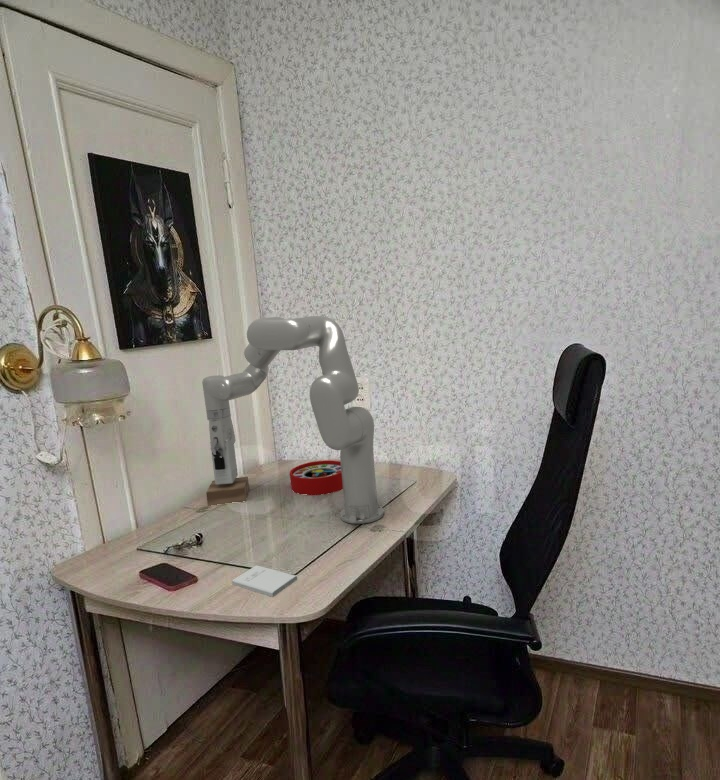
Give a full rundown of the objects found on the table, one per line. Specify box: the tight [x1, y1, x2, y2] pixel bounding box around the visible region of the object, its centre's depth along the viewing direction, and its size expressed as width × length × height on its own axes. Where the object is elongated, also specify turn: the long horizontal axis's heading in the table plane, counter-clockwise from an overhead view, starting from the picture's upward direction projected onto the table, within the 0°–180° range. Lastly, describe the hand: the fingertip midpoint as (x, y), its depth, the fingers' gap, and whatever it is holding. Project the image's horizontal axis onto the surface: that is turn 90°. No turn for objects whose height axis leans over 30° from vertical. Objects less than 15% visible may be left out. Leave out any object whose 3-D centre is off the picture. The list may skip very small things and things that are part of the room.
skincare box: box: [209, 439, 239, 484], centre depth 178 cm, size 8×6×15 cm
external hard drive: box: [231, 564, 298, 598], centre depth 122 cm, size 2×8×12 cm
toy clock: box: [289, 459, 343, 496], centre depth 184 cm, size 20×6×20 cm
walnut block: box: [206, 476, 250, 507], centre depth 180 cm, size 12×12×5 cm
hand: (225, 464), depth 178 cm, fingers closed on skincare box, 8 cm apart
